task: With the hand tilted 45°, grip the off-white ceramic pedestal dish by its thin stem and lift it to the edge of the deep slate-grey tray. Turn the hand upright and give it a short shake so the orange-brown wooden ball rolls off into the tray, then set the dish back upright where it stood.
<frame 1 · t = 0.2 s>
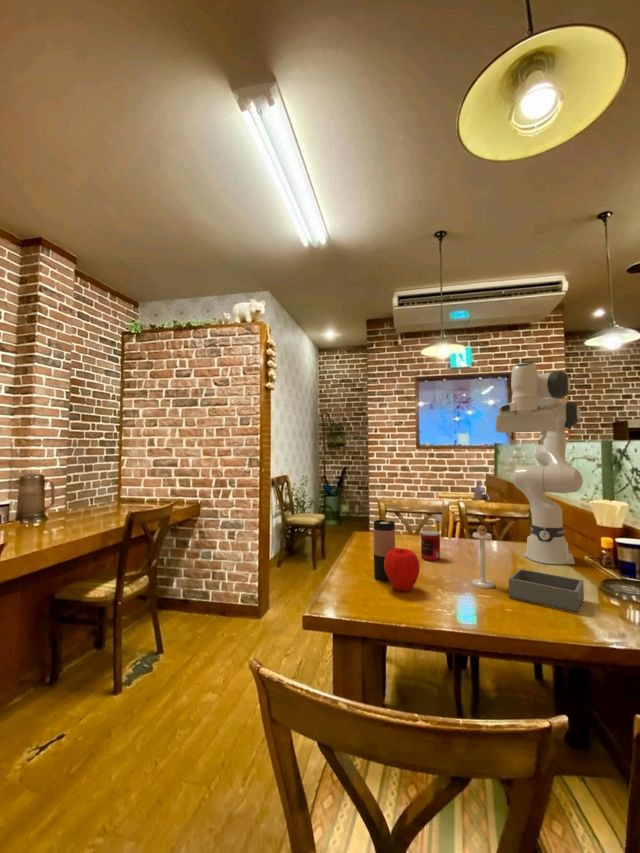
hand: (526, 444, 143), 48 cm above the table, tool pointing down, fingers open, 8 cm apart
canned food: (430, 559, 165), on the table
pedestal dish: (483, 585, 134), on the table, touching ball
tray: (546, 599, 121), on the table
apple: (401, 590, 129), on the table
travel mug: (384, 579, 140), on the table
ball: (482, 530, 135), point 18 cm above the table, touching pedestal dish
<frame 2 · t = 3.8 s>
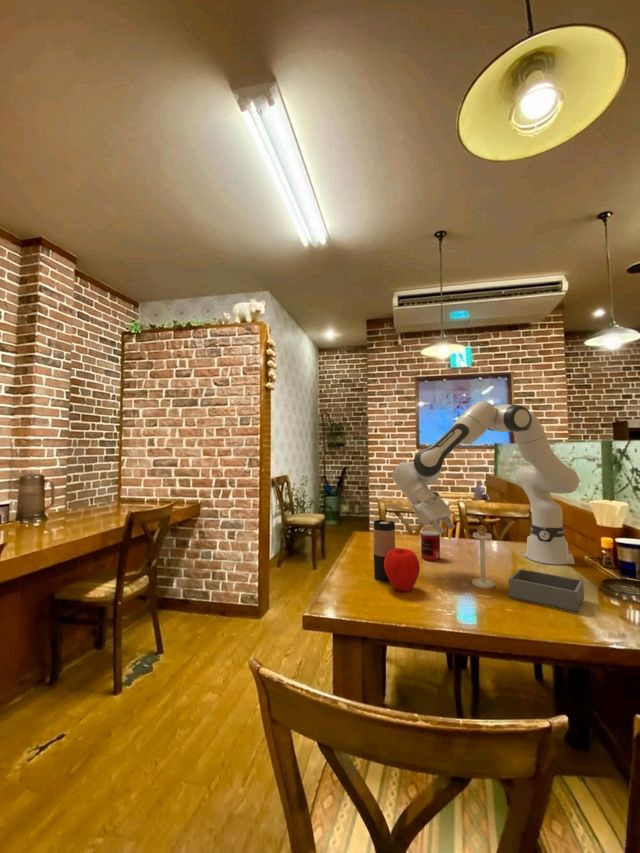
hand: (447, 530, 142), 17 cm above the table, tool tilted 45°, fingers open, 8 cm apart
nothing on the table moved.
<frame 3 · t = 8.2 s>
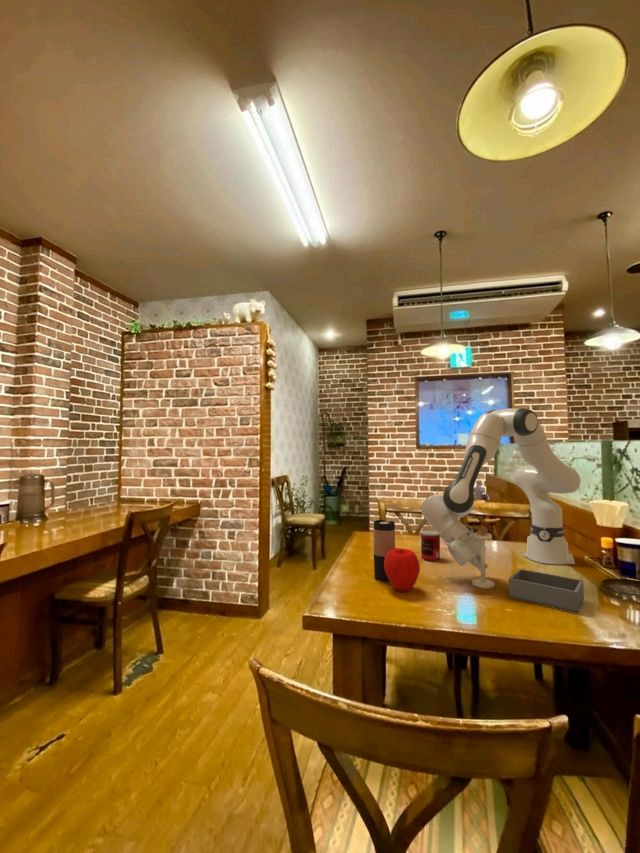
hand: (484, 569, 134), 5 cm above the table, tool tilted 45°, fingers closed on pedestal dish
pedestal dish: (483, 584, 134), on the table, touching ball, gripper
ball: (482, 530, 135), point 18 cm above the table, tilted 12°, touching pedestal dish
everything else where it was.
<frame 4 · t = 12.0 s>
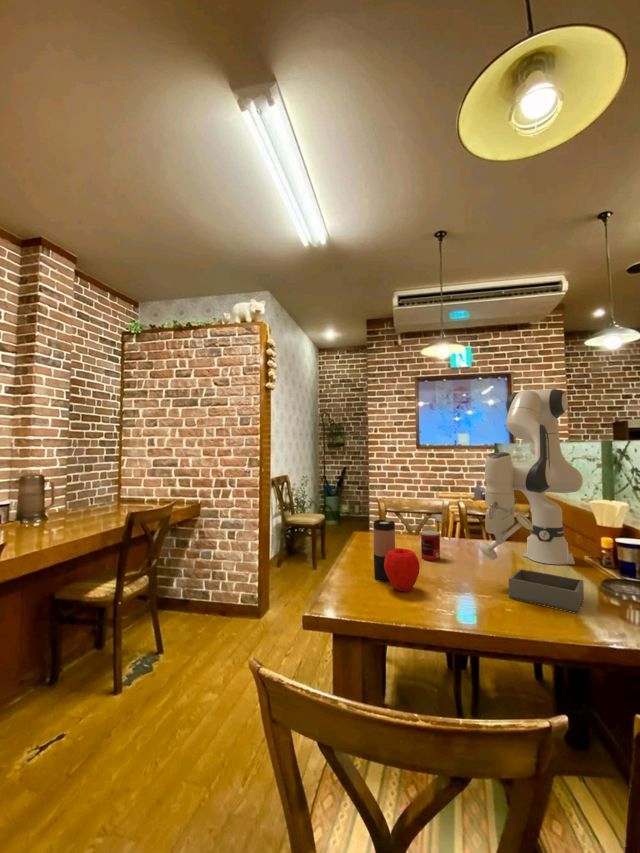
hand: (500, 543, 131), 15 cm above the table, tool pointing down, fingers closed on pedestal dish
pedestal dish: (486, 551, 134), point 11 cm above the table, tilted 46°, touching gripper
ball: (570, 596, 117), point 2 cm above the table, tilted 155°, touching tray
everything else where it was.
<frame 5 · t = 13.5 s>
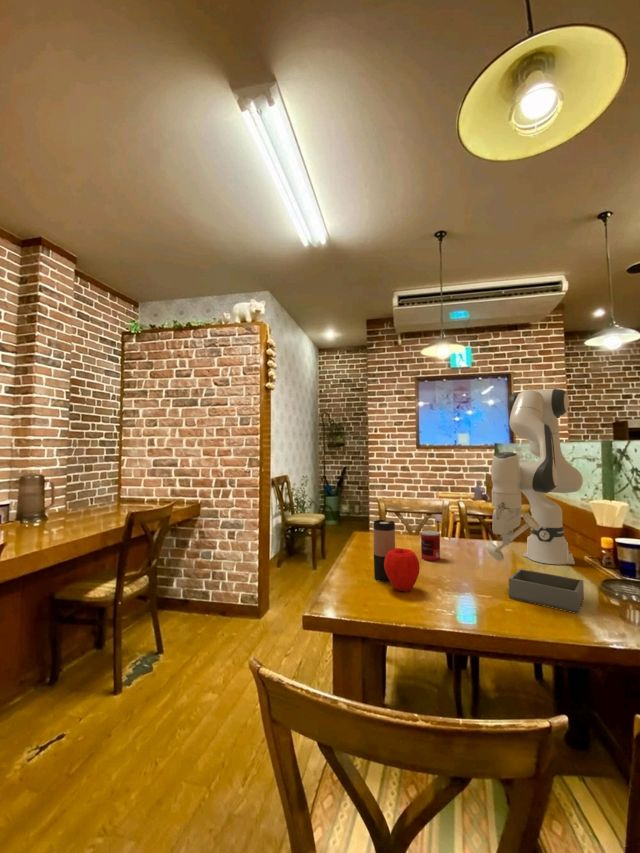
hand: (507, 543, 130), 15 cm above the table, tool pointing down, fingers closed on pedestal dish
pedestal dish: (493, 552, 132), point 12 cm above the table, tilted 46°, touching gripper
ball: (565, 596, 117), point 2 cm above the table, tilted 133°, touching tray
everything else where it was.
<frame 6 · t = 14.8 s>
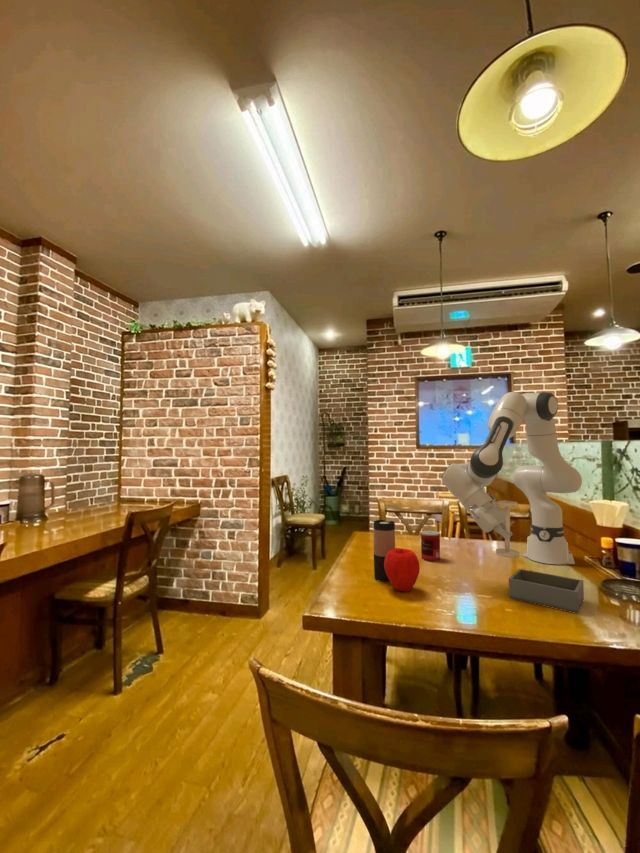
hand: (509, 536, 129), 17 cm above the table, tool tilted 45°, fingers closed on pedestal dish
pedestal dish: (507, 554, 129), point 12 cm above the table, touching gripper
ball: (561, 596, 117), point 2 cm above the table, tilted 90°, touching tray
everything else where it was.
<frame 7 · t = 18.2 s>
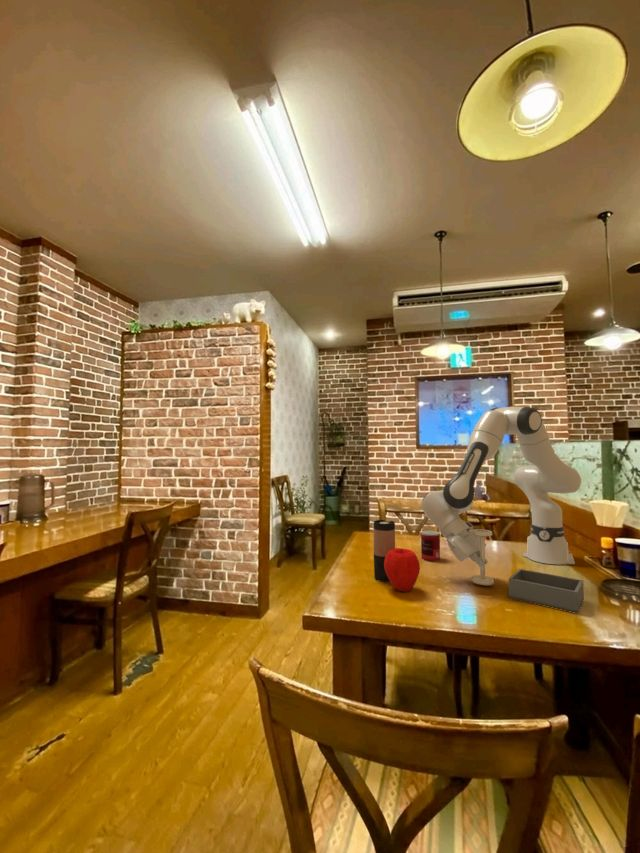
hand: (484, 564, 134), 7 cm above the table, tool tilted 45°, fingers closed on pedestal dish
pedestal dish: (482, 581, 134), point 1 cm above the table, touching gripper
ball: (550, 596, 117), point 2 cm above the table, tilted 35°, touching tray
everything else where it was.
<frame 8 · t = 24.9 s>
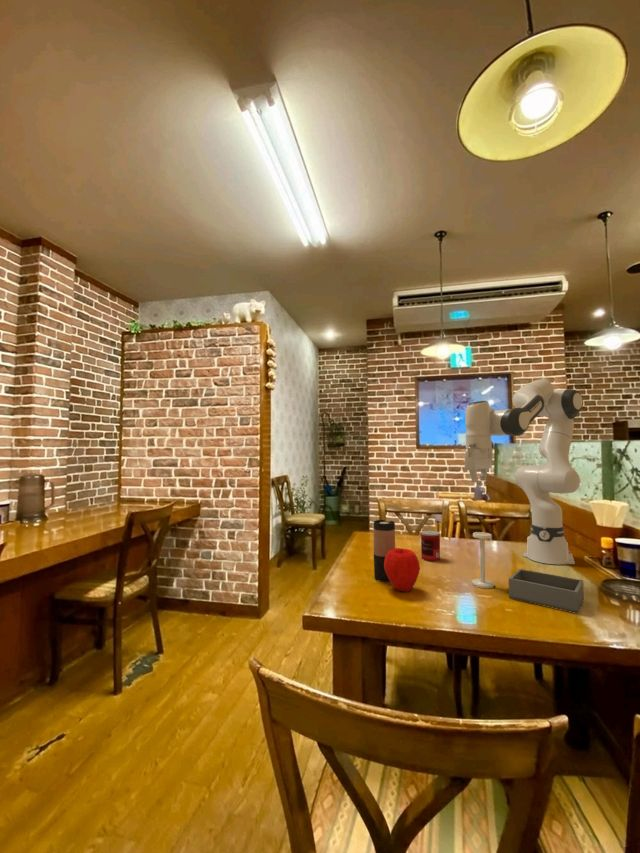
hand: (479, 481, 146), 34 cm above the table, tool pointing down, fingers open, 8 cm apart
pedestal dish: (482, 584, 134), on the table
ball: (550, 595, 118), point 2 cm above the table, tilted 9°, touching tray
everything else where it was.
at the end: ball inside the target area on the tray (3.4 cm from its centre), point 2.4 cm above the tray's base; pedestal dish tilted 0°; the gripper is holding nothing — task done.
